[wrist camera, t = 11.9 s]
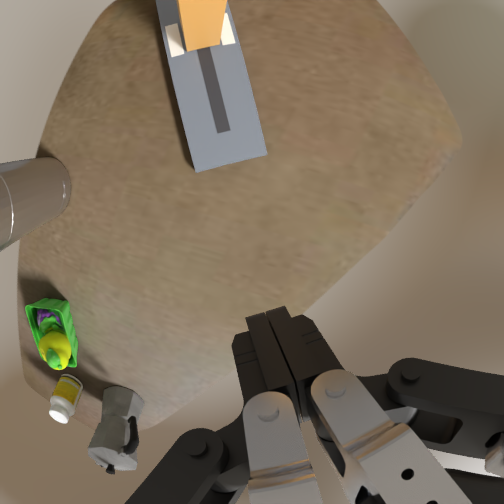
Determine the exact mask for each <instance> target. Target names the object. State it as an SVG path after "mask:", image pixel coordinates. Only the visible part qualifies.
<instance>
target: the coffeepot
mask: <svg viewBox="0 0 504 504" xmlns="http://www.w3.org/2000/svg"><path fill="white" fill-rule="evenodd" d="M143 405H144V401H143V400H142V398H141V397H140V396H139V395H138V394H137V393H135V392H134V391H132V390H130V389H127V388H124V387H119V386H112V387H109V388H107V389H104V392H103V403H102V417H101V423H99V424H98V426H97V429H96V431H95V433H94V436H93V438H92V440H91V442H90V445H89V447H88V455H89V456H90V457H91V458H93V459H94V460H95V461H96V464H97V465H98V464H99V465H100V466H101V467H105V468H107V469H106V472H107V473H109V474H115V470H114V469H117V470H121V471H122V470H136V466H137V463H138V462H137V452H136V448H137V446H138V444H139V438H138V430H137V423H138V421H139V418H140V415H141V412H142V409H143Z"/></svg>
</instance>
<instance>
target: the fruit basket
mask: <svg viewBox="0 0 504 504" xmlns="http://www.w3.org/2000/svg"><path fill="white" fill-rule="evenodd" d="M25 310H26V313H27V317H28V320H29V323H30V327H31V330H32V333H33V336H34V339H35V342H36V345H37V348H38V350H39V353H40V356H41V358H42V359H43V360H44V361H46V362H47V363H48V365H49V366H50V367H51V368H53V369H55V370H62V369H64V368H66V366H69V367H76V366H77V359H76V358H77V350H78V340H77V337H76V336H75V334H76V333H75V329H74V326H73V324H72V323H73V320H72V316H71V313H70V307H69V302H68V301H66V300H65V301H62V300H58V299H48V298H44V299H41V300H39V301H37V302H35V303H33V304H29V305H27V306H26V307H25Z"/></svg>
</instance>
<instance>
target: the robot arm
mask: <svg viewBox="0 0 504 504" xmlns="http://www.w3.org/2000/svg"><path fill="white" fill-rule="evenodd" d="M70 192H71V185H70V178H69V175H68V172H67V170H66V168H65V167H64V166H63V164H62V163H61V162H60V161H58V160H57V159H55V158H52V157H42V158H34V159H27V160H19V161H13V162H7V163H2V164H0V252H1V251H2V250H3V249H5V248H6V247H8V246H9V245H11V244H12V243H14V242H15V241H17V240H19V239H20V238H22V237H24V236H25V235H27V234H28V233H30V232H32V231H33V230H35V229H37V228H39V227H40V226H42V225H44V224H46V223H47V222H49V221H51V220H52V219H54V218H56V217H58V216H59V215H60V214H61V213H62V212H63V211H64V210H65V208H66V207H67V204H68V202H69V198H70ZM245 319H246V322H247V325H248V329H249V331H247V332H243V333H240V334H236V335H235V337H234V340H233V343H232V350H233V355H234V359H235V364H236V368H237V372H238V377H239V382H240V386H241V390H242V395H243V398H244V406H243V410H242V412H241V414H240V415H239V417H238V418H237V419H236V420H235V421H234V422H232V423H231V424H229V425H228V426H225V427H223V428H222V429H220V430H218V431H216V432H214V431H212V430H209V429H204V428H197V429H192V430H190V431H187V432H186V433H184V434H183V435H181V436H180V437H179V438H178V439H177V441H176V442H175V443H174V445H173V446H172V447H171V449H170V450H169V451H168V452H167V453H166V455H165V456H164V457H163V459H162V460H161V461H160V462H159V463H158V465H157V466H156V467H155V468H154V469H153V471H152V472H151V473H150V474H149V476H148V477H147V478H146V479H145V481H144V482H143V483H142V484H141V485H140V486H139V487H138V489H137V490H136V491H135V492H134V493H133V494H132V496H131V497H130V498H129V499H128V500H127V501H126V503H125V504H235V503H236V502H237V500H238V498H239V497H240V495H241V494H242V492H243V490H244V489H245V487H246V485H247V484H248V492H249V499H250V504H323V501H322V498H321V495H320V491H319V488H318V484H317V481H316V478H315V475H314V471H313V468H312V466H311V464H310V461H309V458H308V454H307V451H306V447H305V444H304V441H303V437H302V433H301V429H300V423H302V421H301V417H302V419H303V421H304V422H305V421H308V420H311V421H312V423H313V426H314V428H315V433H316V438H317V440H318V442H319V443H320V445H321V447H322V449H323V451H324V453H325V454H326V456H327V458H328V460H329V461H330V463H331V465H332V467H333V469H334V470H335V472H336V474H337V476H338V477H339V479H340V482H341V484H342V488H343V490H344V493H345V495H346V497H347V498H348V500H349V502H350V504H504V376H503V375H497V374H491V373H485V372H480V371H474V370H469V369H464V368H459V367H454V366H449V365H444V364H440V363H434V362H430V361H426V360H422V359H417V358H405V359H401V360H399V361H397V362H396V363H394V364H393V365H392V367H391V368H390V369H389V372H388V373H387V374H382V375H375V376H369V377H361V376H356V375H354V374H353V373H351V372H349V371H346V370H345V369H344V368H343V367H342V366H341V364H340V362H339V361H338V359H337V358H336V356H335V355H334V353H333V352H332V350H331V349H330V347H329V345H328V344H327V342H326V341H325V339H324V338H323V336H322V335H321V333H320V332H319V330H318V328H317V327H316V325H315V324H314V322H313V320H311V319H309V318H307V317H306V316H304V315H299V316H295V317H292V318H291V316H290V314H289V312H288V311H287V309H286V307H285V306H282V307H279V308H276V309H273V310H269V311H266V315H265V313H264V312H263V313H259V314H256V315H253V316H249V317H246V318H245ZM300 414H301V416H300ZM428 448H429V449H433V450H438V451H442V452H446V453H452V454H457V455H462V456H467V457H473V458H480V459H485V470H486V471H487V472H489V473H490V472H491V473H493V474H496V475H499V476H501V477H502V478H501V477H494V476H487V475H482V474H476V473H471V472H466V471H461V470H456V469H447V468H443V467H442V466H441V464H440V463H439V462H438V461H437V459H436V458H435V457H434V456H433V455H432V453H431V452H430V451H429V450H428Z"/></svg>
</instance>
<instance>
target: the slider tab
mask: <svg viewBox="0 0 504 504" xmlns="http://www.w3.org/2000/svg"><path fill="white" fill-rule="evenodd" d="M176 1H177V7H178V13H179V18H180V23H181V27H182V32H183V36H184V40H185V44H186V49H187V52H188V51H192V50H197V49H201V48H205V47H210V46H215V45H220V39H221V33H222V26H223V20H224V15H225V9H226V4H227V0H176Z"/></svg>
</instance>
